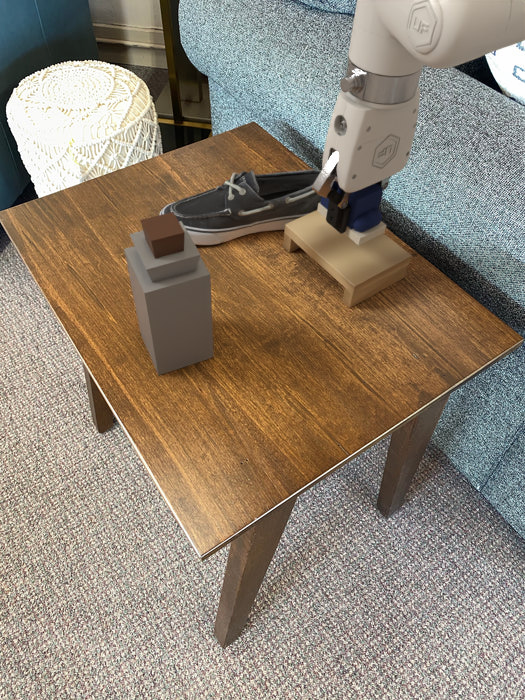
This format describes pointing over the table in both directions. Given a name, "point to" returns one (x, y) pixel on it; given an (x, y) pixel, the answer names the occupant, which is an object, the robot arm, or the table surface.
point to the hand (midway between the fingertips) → (351, 218)
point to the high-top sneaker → (361, 213)
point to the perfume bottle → (170, 294)
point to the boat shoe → (247, 205)
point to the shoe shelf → (348, 256)
